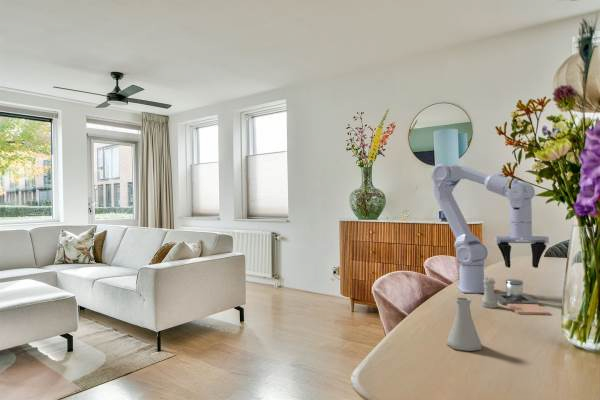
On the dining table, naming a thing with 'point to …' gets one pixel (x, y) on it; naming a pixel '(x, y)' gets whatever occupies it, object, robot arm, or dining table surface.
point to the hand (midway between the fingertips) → (521, 267)
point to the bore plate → (503, 301)
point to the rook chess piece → (489, 294)
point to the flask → (464, 328)
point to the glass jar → (514, 290)
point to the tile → (528, 309)
